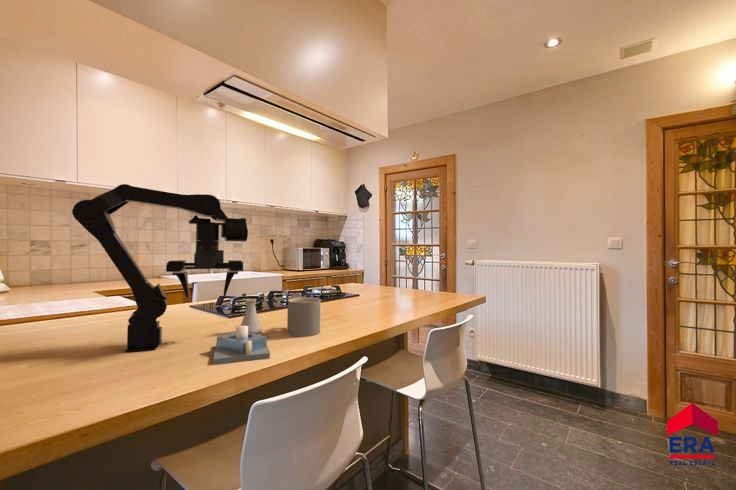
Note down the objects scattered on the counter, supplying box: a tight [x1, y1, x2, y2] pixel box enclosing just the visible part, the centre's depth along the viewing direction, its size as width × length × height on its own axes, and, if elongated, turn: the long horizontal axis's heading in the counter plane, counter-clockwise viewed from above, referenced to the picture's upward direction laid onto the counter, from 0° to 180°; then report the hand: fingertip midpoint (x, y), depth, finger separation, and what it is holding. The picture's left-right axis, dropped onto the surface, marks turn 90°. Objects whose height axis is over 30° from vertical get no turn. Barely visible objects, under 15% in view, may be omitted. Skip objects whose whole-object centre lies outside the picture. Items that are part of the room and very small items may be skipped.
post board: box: [213, 325, 271, 365], centre depth 80 cm, size 12×14×6 cm
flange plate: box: [216, 331, 268, 355], centre depth 80 cm, size 10×7×3 cm
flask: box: [240, 298, 263, 335], centre depth 99 cm, size 7×7×10 cm
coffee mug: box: [286, 297, 322, 338], centre depth 101 cm, size 13×10×10 cm
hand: (206, 296), depth 90 cm, fingers open, 9 cm apart
